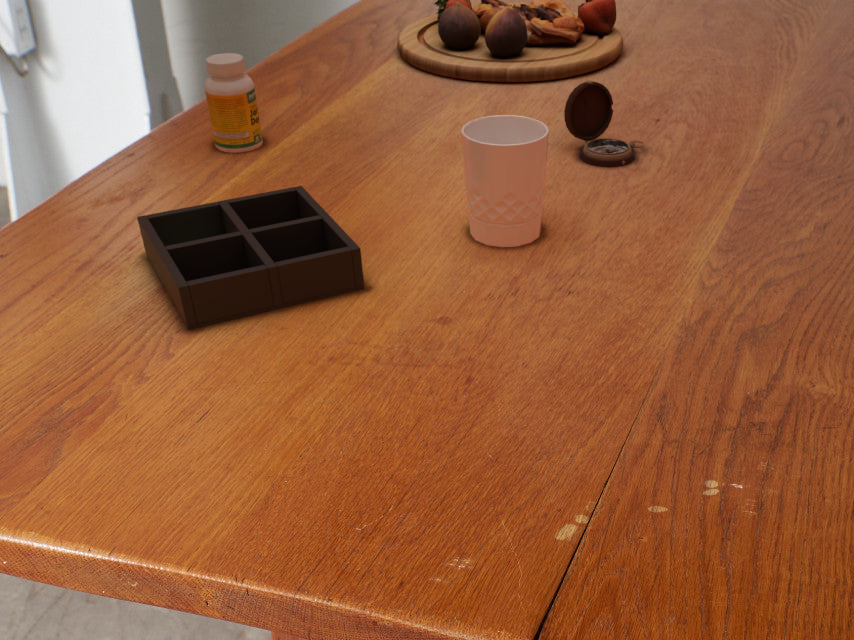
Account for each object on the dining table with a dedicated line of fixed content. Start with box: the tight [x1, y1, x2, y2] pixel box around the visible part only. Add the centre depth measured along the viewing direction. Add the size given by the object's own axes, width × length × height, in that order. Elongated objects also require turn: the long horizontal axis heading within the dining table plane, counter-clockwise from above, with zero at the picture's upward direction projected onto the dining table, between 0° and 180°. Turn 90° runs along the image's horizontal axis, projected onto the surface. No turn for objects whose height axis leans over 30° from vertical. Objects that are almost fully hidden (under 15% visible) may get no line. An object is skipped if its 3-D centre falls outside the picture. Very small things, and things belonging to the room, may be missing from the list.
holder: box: [136, 185, 365, 331], centre depth 89 cm, size 15×15×4 cm
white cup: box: [460, 114, 550, 248], centre depth 94 cm, size 8×8×10 cm
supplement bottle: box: [203, 52, 264, 154], centre depth 112 cm, size 5×5×10 cm
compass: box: [563, 80, 646, 168], centre depth 111 cm, size 8×8×7 cm
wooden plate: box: [396, 0, 624, 83], centre depth 142 cm, size 32×32×8 cm
